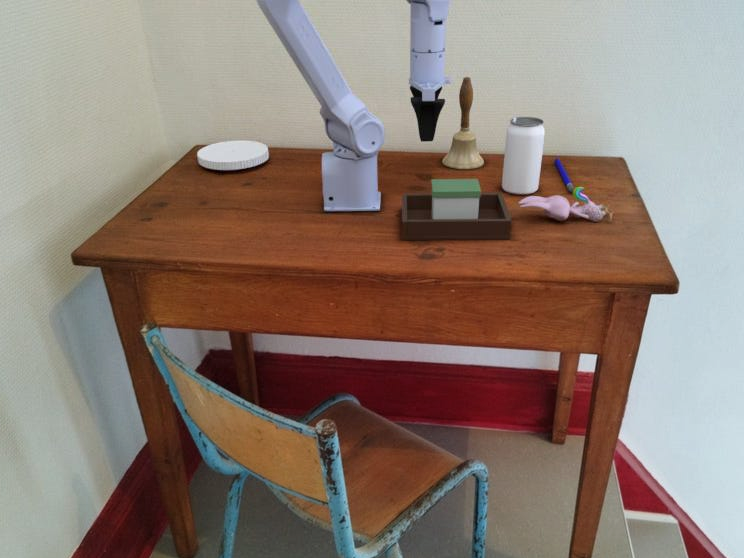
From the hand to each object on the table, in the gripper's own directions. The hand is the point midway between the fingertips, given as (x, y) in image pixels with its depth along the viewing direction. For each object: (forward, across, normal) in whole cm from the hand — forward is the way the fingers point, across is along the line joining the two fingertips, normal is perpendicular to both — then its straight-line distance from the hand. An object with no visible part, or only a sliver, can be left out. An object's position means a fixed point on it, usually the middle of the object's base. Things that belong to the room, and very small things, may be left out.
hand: (426, 134), depth 115 cm
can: (+10, -2, -17) cm, 20 cm away
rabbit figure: (+10, -16, -22) cm, 29 cm away
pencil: (+9, +4, -26) cm, 28 cm away
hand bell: (+10, +13, -8) cm, 18 cm away
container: (+9, -18, -4) cm, 20 cm away
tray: (+9, -18, -4) cm, 20 cm away
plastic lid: (+10, +14, +38) cm, 42 cm away
